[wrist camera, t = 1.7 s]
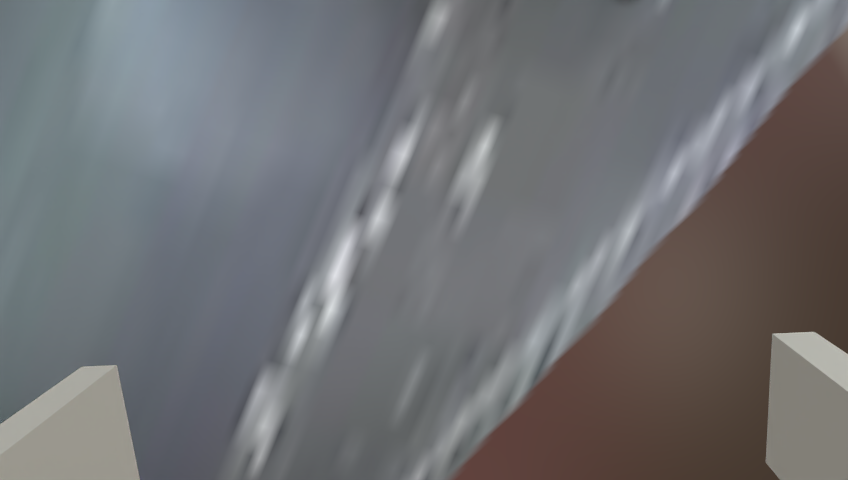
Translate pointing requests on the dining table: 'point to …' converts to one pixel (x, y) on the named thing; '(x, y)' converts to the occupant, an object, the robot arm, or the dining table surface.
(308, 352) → the dining table surface
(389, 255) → the dining table surface
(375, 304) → the dining table surface
